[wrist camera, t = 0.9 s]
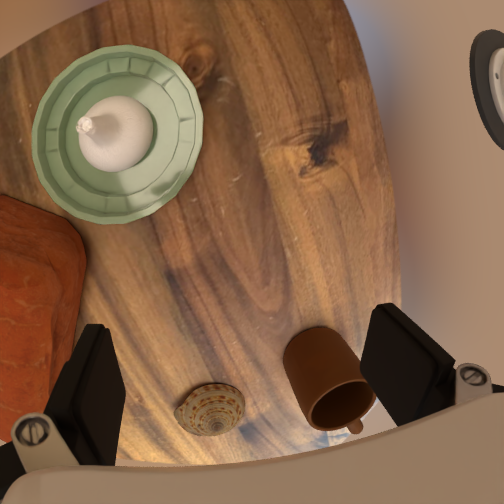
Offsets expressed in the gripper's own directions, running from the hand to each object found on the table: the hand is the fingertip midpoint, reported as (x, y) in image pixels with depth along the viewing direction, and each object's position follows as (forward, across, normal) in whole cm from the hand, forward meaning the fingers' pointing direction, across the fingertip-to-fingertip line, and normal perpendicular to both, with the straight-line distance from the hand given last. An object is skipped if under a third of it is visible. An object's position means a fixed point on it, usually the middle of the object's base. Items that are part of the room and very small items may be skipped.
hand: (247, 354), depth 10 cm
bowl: (+19, +8, -8) cm, 22 cm away
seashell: (+19, +1, +23) cm, 30 cm away
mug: (+19, -12, +18) cm, 29 cm away
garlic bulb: (+19, +8, -8) cm, 22 cm away
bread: (+19, +23, +10) cm, 31 cm away
